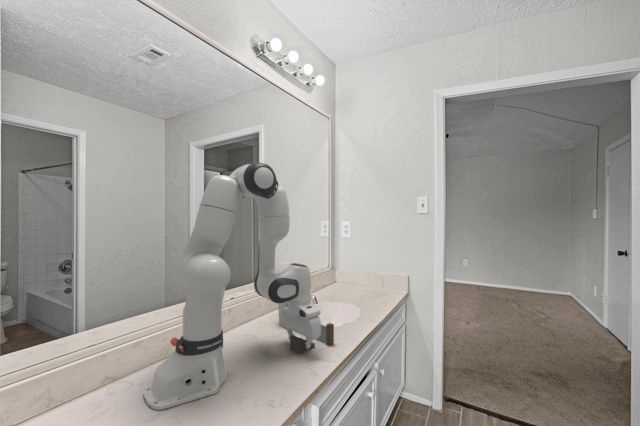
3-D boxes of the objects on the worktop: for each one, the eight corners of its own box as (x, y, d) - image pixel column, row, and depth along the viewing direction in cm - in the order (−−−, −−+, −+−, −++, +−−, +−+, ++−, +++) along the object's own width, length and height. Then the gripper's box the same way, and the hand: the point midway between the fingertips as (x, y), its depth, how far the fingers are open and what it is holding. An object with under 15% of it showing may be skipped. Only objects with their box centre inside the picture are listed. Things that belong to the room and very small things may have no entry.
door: (325, 341, 116) (325, 326, 116) (301, 331, 128) (301, 317, 128) (328, 340, 118) (328, 325, 118) (304, 329, 129) (304, 316, 129)
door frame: (330, 346, 114) (330, 325, 114) (296, 330, 129) (296, 312, 129) (333, 344, 115) (333, 324, 115) (300, 329, 130) (300, 311, 130)
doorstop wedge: (298, 355, 107) (298, 341, 107) (290, 350, 111) (290, 337, 111) (314, 348, 113) (314, 335, 113) (306, 344, 116) (306, 331, 116)
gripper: (276, 302, 116) (276, 337, 116) (310, 315, 101) (310, 355, 101) (289, 299, 121) (289, 333, 121) (323, 311, 106) (323, 350, 106)
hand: (299, 343), depth 111 cm, fingers open, 8 cm apart
